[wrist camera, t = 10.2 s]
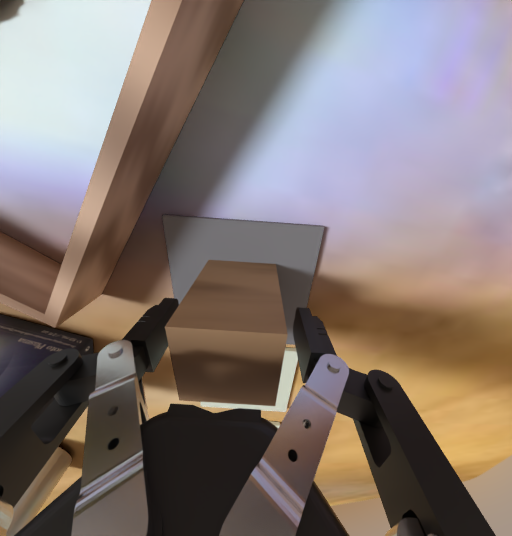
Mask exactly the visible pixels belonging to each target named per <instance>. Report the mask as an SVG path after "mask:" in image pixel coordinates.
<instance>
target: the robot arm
mask: <svg viewBox="0 0 512 536" xmlns="http://www.w3.org/2000/svg"><path fill="white" fill-rule="evenodd" d="M178 306H179V302H178V299H174V298H164V299H163V300H162V302H161V303H160V304H159V305H155V306H153V307H152V308H150V309H149V310H147V311H146V313H145V314H144V315H143V317H141V318H140V319H139V321H138V322H137V323H136V324H135V325H134V326H133V328H132V329H131V330H130V331H129V332H128V333H127V334H126V336H125V337H124V338H123V339H122V340H119V341H115V342H113V343H110V344H109V345H107V346H105V347H104V348H103V349H102V350H101V351H100V352H98V353H93V354H87V355H82V356H81V355H80V353H79V351H78V350H77V349H64V350H61V351H58V352H56V353H54V354H52V355H50V356H48V357H47V358H45V359H44V360H43V361H42V362H41V363H39V364H38V365H37V366H36V367H35V368H34V369H33V370H31V371H30V372H29V373H28V374H27V375H26V376H24V377H23V378H22V379H21V380H20V381H19V382H18V383H16V384H15V385H14V386H13V387H12V388H11V389H9V390H8V391H7V392H6V393H5V394H4V395H3V396H1V397H0V536H349V534H348V533H347V531H346V530H345V528H344V527H343V525H342V524H341V522H340V520H339V519H338V517H337V516H336V514H335V513H334V511H333V510H332V508H331V507H330V505H329V504H328V502H327V500H326V499H325V497H324V496H323V494H322V493H321V491H320V490H319V488H318V487H317V485H316V483H315V482H314V477H315V474H316V471H317V468H318V465H319V462H320V459H321V456H322V453H323V450H324V447H325V444H326V442H327V439H328V436H329V433H330V430H331V427H332V424H333V421H334V418H335V415H336V412H338V413H341V414H343V415H346V416H348V417H350V418H353V420H354V423H355V426H356V429H357V432H358V435H359V437H360V440H361V443H362V446H363V449H364V452H365V455H366V458H367V460H368V463H369V466H370V469H371V472H372V475H373V478H374V481H375V484H376V486H377V489H378V492H379V495H380V498H381V501H382V503H383V507H384V509H385V512H386V515H387V518H388V521H389V524H390V527H391V529H390V530H389V531H388V532H387V533H386V535H385V536H496V535H495V534H494V532H493V531H492V529H491V528H490V526H489V524H488V523H487V521H486V520H485V518H484V516H483V515H482V513H481V512H480V510H479V508H478V507H477V505H476V504H475V502H474V501H473V499H472V498H471V496H470V494H469V493H468V491H467V490H466V488H465V487H464V485H463V483H462V482H461V480H460V478H459V477H458V475H457V474H456V472H455V471H454V469H453V467H452V466H451V464H450V463H449V461H448V460H447V458H446V456H445V455H444V453H443V452H442V450H441V449H440V447H439V445H438V444H437V442H436V441H435V439H434V437H433V436H432V434H431V433H430V431H429V430H428V428H427V426H426V425H425V423H424V422H423V420H422V419H421V417H420V415H419V414H418V412H417V411H416V409H415V407H414V406H413V404H412V403H411V401H410V400H409V398H408V396H407V395H406V393H405V392H404V390H403V389H402V387H401V385H400V384H399V383H398V382H397V380H396V379H395V378H393V377H392V376H391V375H389V374H388V373H386V372H383V371H381V370H371V371H370V372H369V373H368V375H366V374H363V373H360V372H358V371H355V370H352V369H350V368H348V366H347V364H346V363H345V362H344V361H343V360H342V359H341V358H339V357H338V356H337V355H336V353H335V350H334V348H333V346H332V343H331V341H330V339H329V336H328V335H327V332H326V330H325V327H324V325H323V322H322V321H321V320H320V319H319V318H318V317H317V316H312V315H311V312H310V309H309V308H301V307H297V309H296V313H295V319H294V324H293V336H294V341H295V346H296V351H297V356H298V361H299V366H300V371H301V376H302V381H303V383H306V384H305V386H304V385H303V386H302V388H301V389H300V391H299V393H298V394H297V396H296V398H295V400H294V402H293V403H292V405H291V407H290V409H289V411H288V412H287V414H286V416H285V418H284V419H283V421H282V423H281V425H280V427H279V428H277V427H276V426H275V425H274V424H272V423H271V422H269V421H268V420H266V419H264V418H261V410H258V409H243V408H237V409H233V410H228V411H224V412H219V413H212V412H209V411H207V410H204V409H201V408H199V407H196V406H194V405H183V404H170V407H169V409H168V412H165V413H162V414H159V415H157V416H155V417H153V418H151V419H149V415H148V411H147V404H146V398H145V392H144V385H143V379H142V376H143V375H144V373H145V372H154V370H155V368H156V367H157V365H158V363H159V361H160V359H161V358H162V356H163V354H164V352H165V351H166V349H167V347H168V340H167V335H166V330H165V326H166V324H167V323H168V321H169V320H170V318H171V317H172V315H173V314H174V312H175V311H176V309H177V307H178ZM53 396H54V398H55V399H54V401H53V402H52V403H51V404H50V405H49V406H48V407H47V408H46V409H45V411H44V412H43V413H42V414H41V415H40V416H39V417H38V418H37V420H36V421H35V422H34V423H33V424H32V422H33V420H34V418H35V417H36V415H37V414H38V413H39V412H40V411H41V410H42V408H43V407H44V406H45V405H46V404H47V403H48V402H49V401H50V400H51V399H52V398H53ZM87 406H88V414H87V425H86V436H85V447H84V458H83V469H82V477H80V478H79V479H78V480H77V481H76V482H75V483H74V484H72V485H71V486H70V487H69V488H68V489H67V490H65V491H64V492H63V493H62V494H61V495H60V496H59V497H57V498H56V499H55V500H54V501H53V502H52V503H51V504H49V505H48V506H47V507H46V508H45V509H44V510H42V511H41V512H40V513H39V514H38V515H37V516H36V514H37V513H38V511H39V510H40V508H41V507H42V505H43V504H44V502H45V501H46V499H47V498H48V496H49V495H50V493H51V492H52V490H53V489H54V487H55V486H56V485H57V483H58V482H59V480H60V479H61V477H62V476H63V474H64V473H65V471H66V470H67V468H68V467H69V465H70V464H71V462H72V458H71V456H70V455H69V454H68V453H67V452H66V451H65V450H63V449H61V448H60V447H58V446H59V445H60V443H61V442H62V441H63V439H64V438H65V437H66V435H67V434H68V432H69V431H70V430H71V428H72V427H73V426H74V424H75V423H76V421H77V420H78V419H79V417H80V416H81V415H82V413H83V412H84V410H85V409H86V408H87ZM35 516H36V517H35Z"/></svg>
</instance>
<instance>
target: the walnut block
mask: <svg viewBox="0 0 512 536" xmlns="http://www.w3.org/2000/svg"><path fill="white" fill-rule="evenodd" d="M165 330H166V335H167V340H168V345H169V350H170V355H171V360H172V365H173V370H174V375H175V380H176V385H177V390H178V395H179V400H183V401H199V402H215V403H231V404H247V405H263V406H275V405H276V399H277V393H278V388H279V382H280V376H281V370H282V364H283V358H284V353H285V347H286V341H287V335H288V334H287V328H286V322H285V316H284V310H283V304H282V298H281V292H280V286H279V280H278V274H277V268H276V264H268V263H253V262H237V261H221V260H208V262H207V263H206V265H205V266H204V268H203V269H202V271H201V272H200V274H199V275H198V277H197V278H196V280H195V281H194V283H193V285H192V286H191V288H190V289H189V291H188V292H187V294H186V295H185V297H184V298H183V300H182V301H181V303H180V304H179V306H178V307H177V309H176V311H175V312H174V314H173V315H172V317H171V318H170V320H169V321H168V323H167V324H166V326H165Z"/></svg>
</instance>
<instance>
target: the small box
mask: <svg viewBox="0 0 512 536" xmlns="http://www.w3.org/2000/svg"><path fill="white" fill-rule="evenodd" d="M64 349H77V350H78V351H79V353H80V355H81V356H82V355H87V354H93V352H94V350H93V340H92V339H91V338H88V337H83V336H80V335H76V334H72V333H69V332H65V331H61V330H57V329H54V328H50V327H46V326H42V325H39V324H35V323H31V322H27V321H24V320H20V319H16V318H12V317H9V316H5V315H1V314H0V397H1V396H3V395H4V394H5V393H6V392H7V391H8V390H9V389H11V388H12V387H13V386H14V385H15V384H16V383H18V382H19V381H20V380H21V379H22V378H23V377H24V376H26V375H27V374H28V373H29V372H30V371H31V370H33V369H34V368H35V367H36V366H37V365H38V364H39V363H41V362H42V361H43V360H44V359H45V358H47V357H48V356H50V355H52V354H54V353H56V352H58V351H61V350H64ZM54 399H55V398H54V396H53V398H52V399H51V400H50V401H49V402H48V403H47V404H46V405H45V406H44V407H43V408H42V410H41V411H40V412H39V413H38V414H37V415H36V417H35V418H34V420H33V422H32V424H33V423H34V422H35V421H36V420H37V418H38V417H39V416H40V415H41V414H42V413H43V412H44V411H45V409H46V408H47V407H48V406H49V405H50V404H51V403H52V402H53V401H54Z"/></svg>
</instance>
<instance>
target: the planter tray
mask: <svg viewBox="0 0 512 536" xmlns="http://www.w3.org/2000/svg"><path fill="white" fill-rule="evenodd" d="M243 1H244V0H152V1H151V4H150V7H149V10H148V12H147V15H146V18H145V21H144V24H143V27H142V30H141V33H140V36H139V39H138V42H137V45H136V48H135V51H134V54H133V57H132V60H131V62H130V65H129V68H128V71H127V74H126V77H125V80H124V83H123V86H122V89H121V92H120V95H119V98H118V101H117V104H116V107H115V109H114V112H113V115H112V118H111V121H110V124H109V127H108V130H107V133H106V136H105V139H104V142H103V145H102V148H101V151H100V154H99V157H98V159H97V162H96V165H95V168H94V171H93V174H92V177H91V180H90V183H89V186H88V189H87V192H86V195H85V198H84V201H83V204H82V206H81V209H80V212H79V215H78V218H77V221H76V224H75V227H74V230H73V233H72V236H71V239H70V242H69V245H68V248H67V251H66V254H65V256H64V259H63V262H62V265H61V264H59V263H58V262H56V261H54V260H52V259H50V258H48V257H46V256H45V255H43V254H41V253H39V252H37V251H35V250H33V249H32V248H30V247H28V246H26V245H24V244H22V243H21V242H19V241H17V240H15V239H13V238H11V237H9V236H8V235H6V234H4V233H2V232H0V303H2V304H4V305H6V306H9V307H11V308H13V309H15V310H17V311H20V312H22V313H24V314H26V315H28V316H30V317H33V318H35V319H37V320H39V321H41V322H43V323H46V324H48V325H50V326H52V327H54V328H56V327H57V326H58V325H60V324H61V323H63V322H64V321H65V320H67V319H68V318H69V317H71V316H72V315H74V314H75V313H76V312H78V311H79V310H81V309H82V308H83V307H85V306H86V305H88V304H89V303H90V302H92V301H93V300H94V299H96V298H97V297H99V296H100V295H101V294H102V293H103V290H104V288H105V286H106V284H107V282H108V280H109V278H110V276H111V274H112V272H113V270H114V268H115V266H116V264H117V262H118V259H119V257H120V255H121V253H122V251H123V249H124V247H125V245H126V243H127V241H128V239H129V237H130V235H131V233H132V231H133V228H134V226H135V224H136V222H137V220H138V218H139V216H140V214H141V212H142V210H143V208H144V206H145V204H146V202H147V200H148V197H149V195H150V193H151V191H152V189H153V187H154V185H155V183H156V181H157V179H158V177H159V175H160V173H161V171H162V169H163V166H164V164H165V162H166V160H167V158H168V156H169V154H170V152H171V150H172V148H173V146H174V144H175V142H176V140H177V138H178V135H179V133H180V131H181V129H182V127H183V125H184V123H185V121H186V119H187V117H188V115H189V113H190V111H191V109H192V107H193V104H194V102H195V100H196V98H197V96H198V94H199V92H200V90H201V88H202V86H203V84H204V82H205V80H206V78H207V76H208V73H209V71H210V69H211V67H212V65H213V63H214V61H215V59H216V57H217V55H218V53H219V51H220V49H221V47H222V45H223V42H224V40H225V38H226V36H227V34H228V32H229V30H230V28H231V26H232V24H233V22H234V20H235V18H236V16H237V14H238V11H239V9H240V7H241V5H242V3H243Z"/></svg>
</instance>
